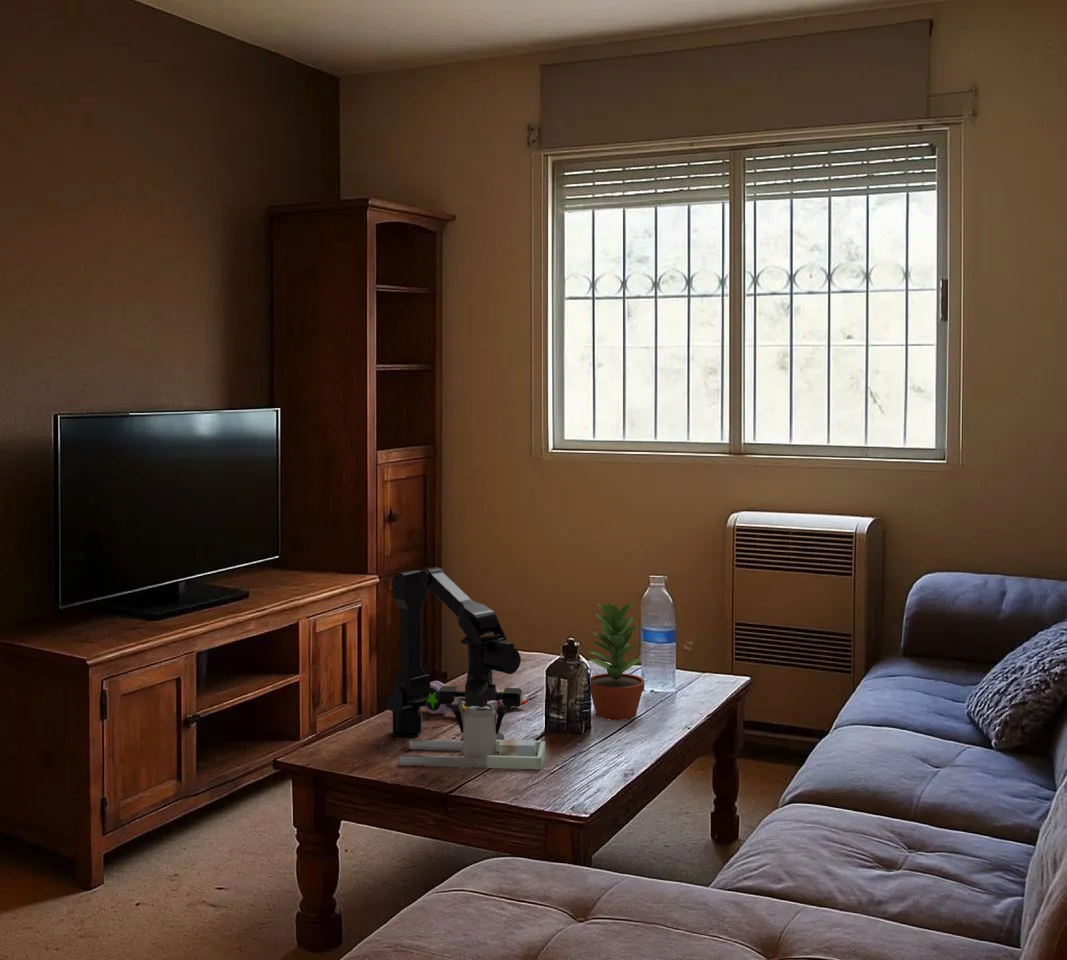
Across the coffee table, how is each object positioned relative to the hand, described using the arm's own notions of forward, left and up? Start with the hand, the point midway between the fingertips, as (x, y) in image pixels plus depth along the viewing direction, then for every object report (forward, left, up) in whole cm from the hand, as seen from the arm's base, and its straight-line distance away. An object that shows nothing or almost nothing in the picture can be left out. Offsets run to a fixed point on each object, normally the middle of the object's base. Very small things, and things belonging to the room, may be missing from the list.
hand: (479, 733), depth 267 cm
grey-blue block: (+11, 0, -6) cm, 12 cm away
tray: (+8, 0, -6) cm, 10 cm away
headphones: (-6, +38, -6) cm, 39 cm away
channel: (-7, 0, -6) cm, 9 cm away
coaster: (-1, +14, -6) cm, 15 cm away
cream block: (+7, 0, -6) cm, 9 cm away
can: (0, 0, -6) cm, 6 cm away
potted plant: (+30, +37, -6) cm, 48 cm away
